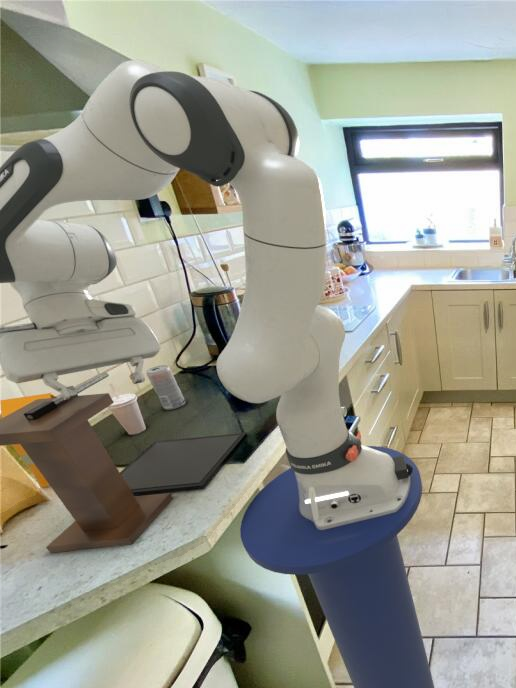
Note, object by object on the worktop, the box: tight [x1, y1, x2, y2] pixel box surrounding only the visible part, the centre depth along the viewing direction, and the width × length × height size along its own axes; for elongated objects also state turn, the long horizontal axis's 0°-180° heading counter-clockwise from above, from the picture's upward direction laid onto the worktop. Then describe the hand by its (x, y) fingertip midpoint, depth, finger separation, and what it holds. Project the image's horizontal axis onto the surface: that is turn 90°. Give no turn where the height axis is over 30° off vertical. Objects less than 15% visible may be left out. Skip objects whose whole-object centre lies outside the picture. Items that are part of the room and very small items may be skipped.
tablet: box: [119, 432, 248, 497], centre depth 96 cm, size 22×20×1 cm
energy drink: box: [146, 364, 187, 411], centre depth 120 cm, size 5×5×12 cm
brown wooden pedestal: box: [0, 392, 174, 554], centre depth 75 cm, size 14×12×25 cm
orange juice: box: [0, 392, 58, 488], centre depth 91 cm, size 8×9×20 cm
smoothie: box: [106, 382, 147, 436], centre depth 108 cm, size 6×6×14 cm
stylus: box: [24, 371, 110, 420], centre depth 74 cm, size 1×16×1 cm, turn 6°
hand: (107, 389), depth 74 cm, fingers open, 8 cm apart
